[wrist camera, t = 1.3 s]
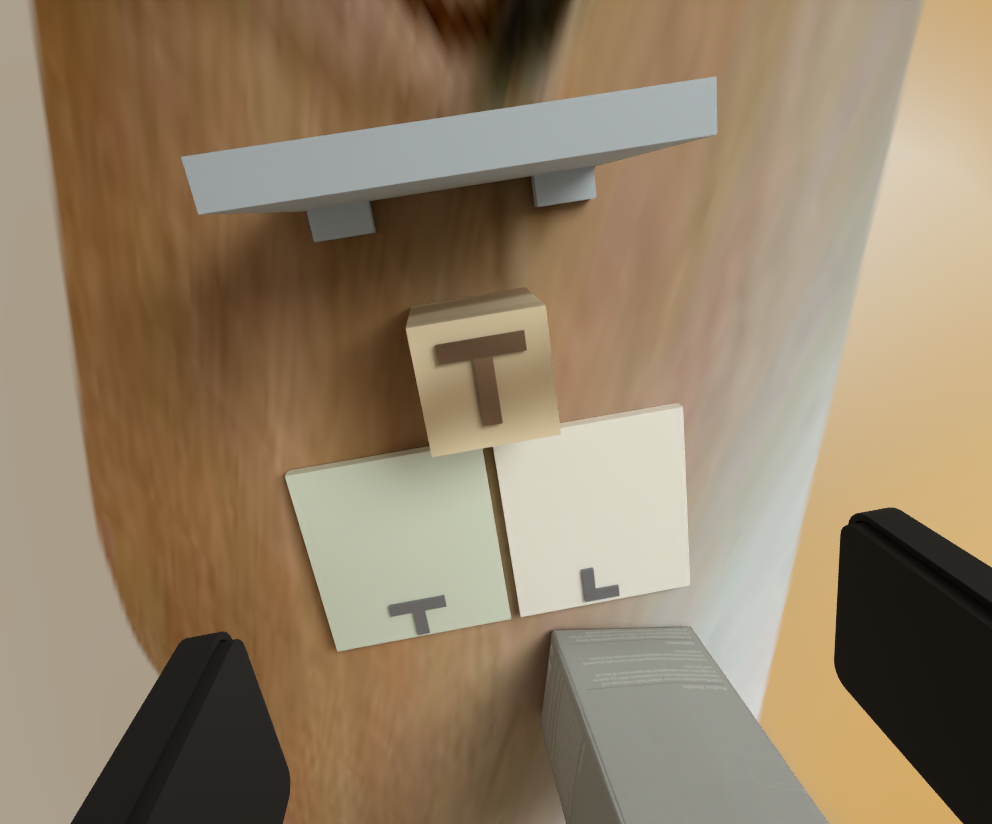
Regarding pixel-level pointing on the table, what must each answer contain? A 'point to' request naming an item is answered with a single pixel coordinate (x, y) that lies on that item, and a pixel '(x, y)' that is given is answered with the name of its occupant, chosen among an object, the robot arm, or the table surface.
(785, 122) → the table surface
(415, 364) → the letter cube
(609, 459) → the pad
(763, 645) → the table surface
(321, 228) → the screen
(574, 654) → the skincare box
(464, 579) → the pad
